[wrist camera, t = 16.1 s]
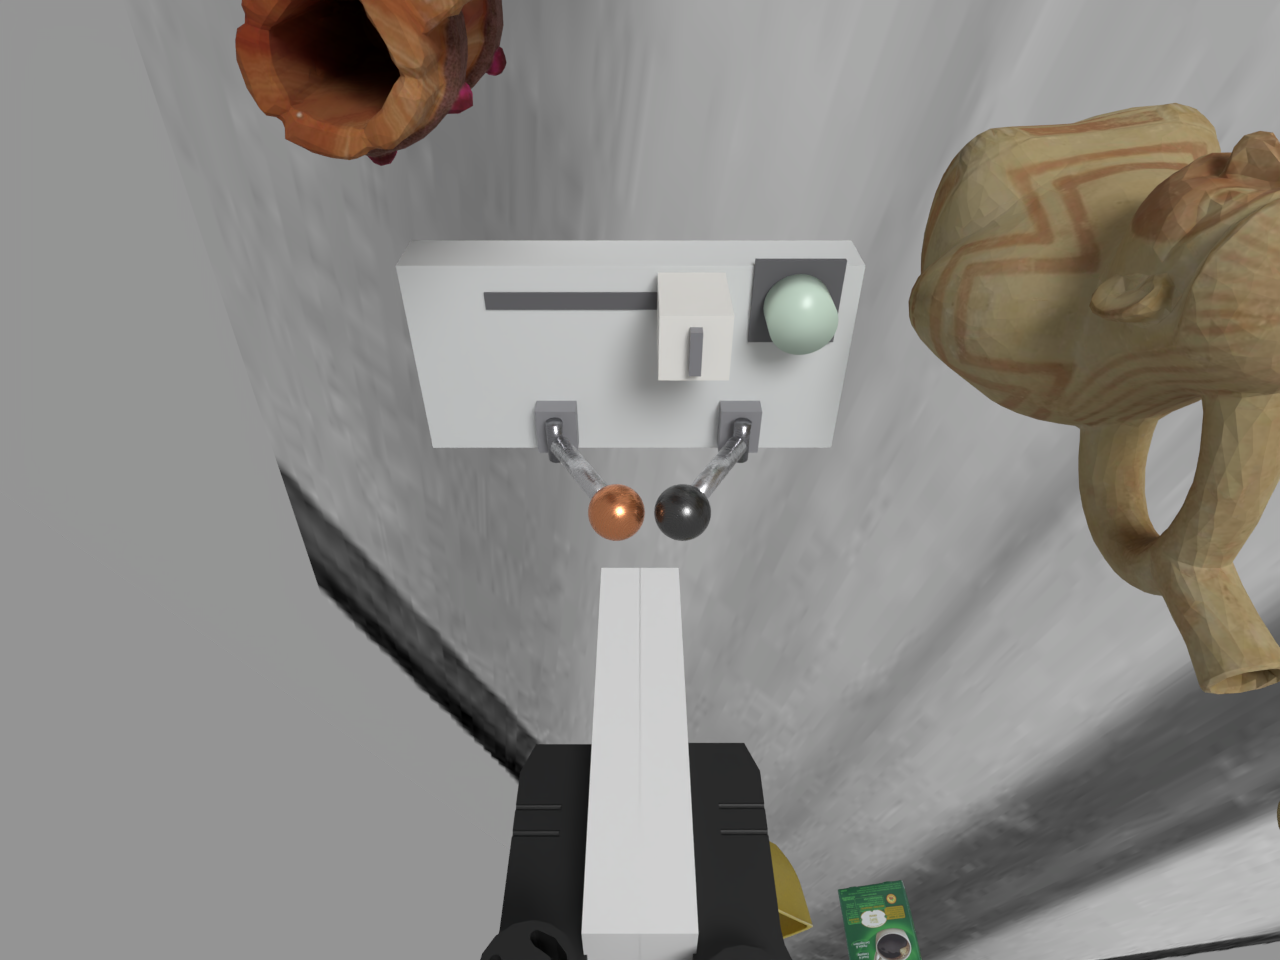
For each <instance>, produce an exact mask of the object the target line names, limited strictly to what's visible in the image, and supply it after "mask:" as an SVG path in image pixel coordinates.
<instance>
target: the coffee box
mask: <svg viewBox="0 0 1280 960" xmlns="http://www.w3.org/2000/svg"><path fill="white" fill-rule="evenodd" d="M838 895H839V901H840V906H841V912H842V917H843V923H844V929H845V936H846V942H847V948H848V955H849V960H922V957H921V953H920V948H919V944H918V940H917V935H916V931H915V926H914V922H913V918H912V914H911V910H910V905H909V902H908V898H907V894H906V891H905V887H904V884H903V881H902V880H898V881H886V882H883V883H878V884H871V885H865V886H858V887H856V886H854V887H849V888H844V889H838Z"/></svg>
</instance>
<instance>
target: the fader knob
mask: <svg viewBox="0 0 1280 960" xmlns="http://www.w3.org/2000/svg"><path fill="white" fill-rule="evenodd" d="M733 328H734V311H733V306H732V301H731V296H730V292H729V287H728V282H727V277H726V272H658V280H657V356H658V380H729V376H730V364H731V352H732V340H733Z"/></svg>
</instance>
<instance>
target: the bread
mask: <svg viewBox="0 0 1280 960" xmlns="http://www.w3.org/2000/svg"><path fill="white" fill-rule="evenodd" d="M1277 821H1278V827H1279V829H1280V801H1279V803H1278V808H1277Z"/></svg>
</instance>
